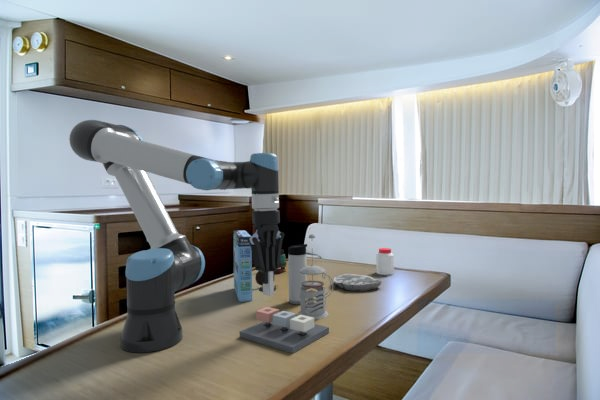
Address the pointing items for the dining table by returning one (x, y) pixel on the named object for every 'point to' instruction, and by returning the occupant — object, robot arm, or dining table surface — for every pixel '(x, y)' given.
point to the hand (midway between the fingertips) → (268, 294)
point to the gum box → (242, 266)
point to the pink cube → (266, 314)
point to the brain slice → (356, 282)
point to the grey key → (283, 319)
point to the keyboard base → (283, 336)
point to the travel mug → (296, 271)
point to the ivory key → (302, 323)
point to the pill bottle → (385, 262)
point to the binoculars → (281, 263)
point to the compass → (259, 280)
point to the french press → (313, 292)
